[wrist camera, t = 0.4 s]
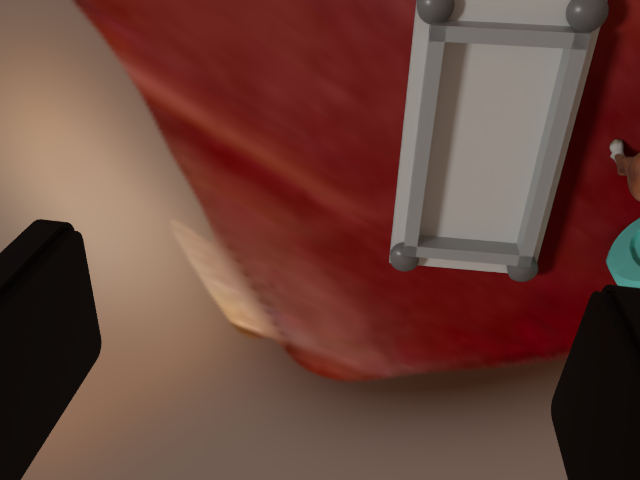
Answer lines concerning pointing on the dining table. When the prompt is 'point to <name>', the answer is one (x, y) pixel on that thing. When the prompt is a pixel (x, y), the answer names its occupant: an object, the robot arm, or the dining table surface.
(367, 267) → the dining table surface
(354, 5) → the dining table surface
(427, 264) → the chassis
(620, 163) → the bull figurine
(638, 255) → the decorative dice
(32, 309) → the robot arm
